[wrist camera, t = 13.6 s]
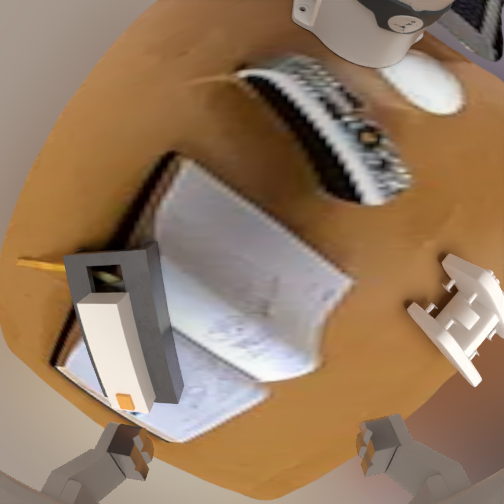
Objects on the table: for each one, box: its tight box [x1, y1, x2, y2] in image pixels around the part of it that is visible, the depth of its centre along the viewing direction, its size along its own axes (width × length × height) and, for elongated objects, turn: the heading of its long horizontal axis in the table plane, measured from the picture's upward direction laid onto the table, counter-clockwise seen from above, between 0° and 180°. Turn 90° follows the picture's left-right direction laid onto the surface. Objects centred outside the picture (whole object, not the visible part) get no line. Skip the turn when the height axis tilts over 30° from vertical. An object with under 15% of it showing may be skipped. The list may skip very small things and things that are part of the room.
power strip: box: [77, 292, 156, 413], centre depth 35 cm, size 16×6×8 cm, turn 4°
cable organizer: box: [407, 254, 504, 387], centre depth 32 cm, size 15×11×12 cm
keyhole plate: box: [63, 242, 184, 404], centre depth 36 cm, size 22×12×4 cm, turn 4°
